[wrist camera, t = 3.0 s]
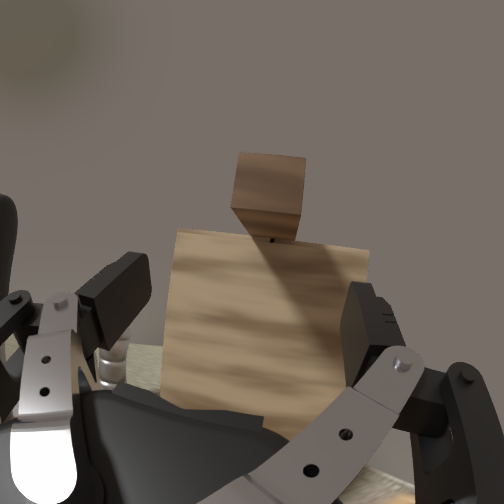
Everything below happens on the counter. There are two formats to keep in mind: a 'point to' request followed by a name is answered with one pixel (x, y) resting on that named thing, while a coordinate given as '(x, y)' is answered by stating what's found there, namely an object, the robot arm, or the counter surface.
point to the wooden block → (257, 326)
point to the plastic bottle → (114, 363)
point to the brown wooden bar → (269, 194)
